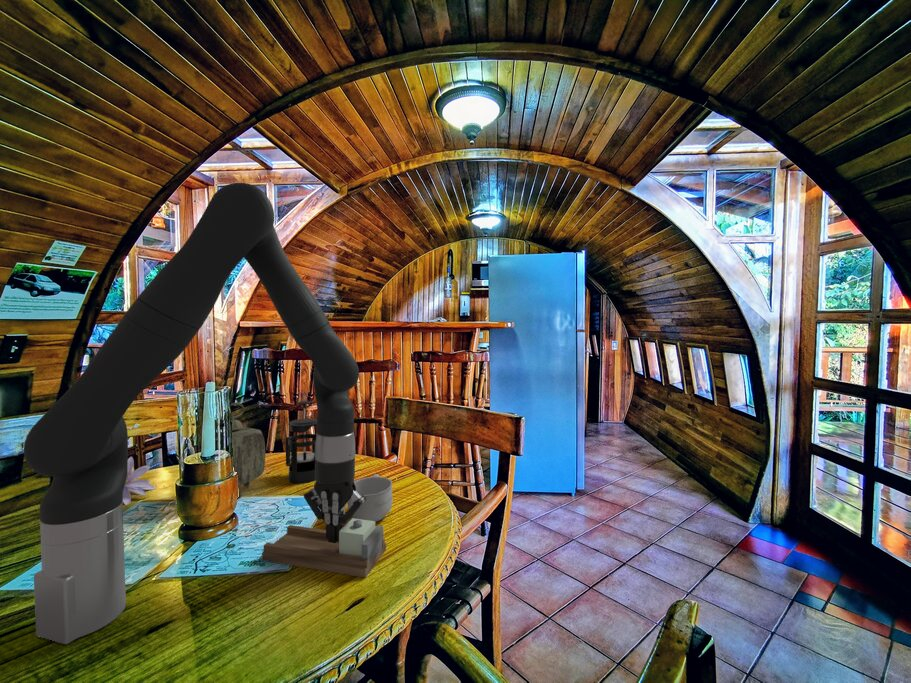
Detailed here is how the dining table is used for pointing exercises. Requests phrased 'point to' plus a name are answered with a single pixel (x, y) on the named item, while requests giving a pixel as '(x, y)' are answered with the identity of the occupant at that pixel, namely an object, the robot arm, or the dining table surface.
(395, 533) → the dining table surface
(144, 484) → the water lily
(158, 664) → the dining table surface
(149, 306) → the robot arm
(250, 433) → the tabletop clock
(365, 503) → the teacup
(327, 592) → the dining table surface
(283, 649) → the dining table surface
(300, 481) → the french press
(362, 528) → the slider
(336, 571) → the track
